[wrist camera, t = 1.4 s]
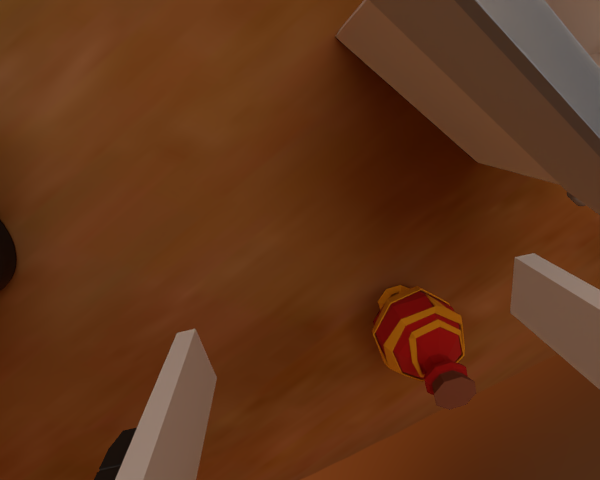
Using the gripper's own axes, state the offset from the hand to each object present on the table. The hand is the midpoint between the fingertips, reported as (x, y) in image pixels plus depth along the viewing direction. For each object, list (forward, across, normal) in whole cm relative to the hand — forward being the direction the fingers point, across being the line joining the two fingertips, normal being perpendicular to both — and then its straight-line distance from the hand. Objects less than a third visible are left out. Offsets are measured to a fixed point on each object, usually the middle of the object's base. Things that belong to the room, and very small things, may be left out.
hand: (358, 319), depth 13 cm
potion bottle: (+25, +9, -19) cm, 32 cm away
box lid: (+4, +11, +5) cm, 13 cm away
